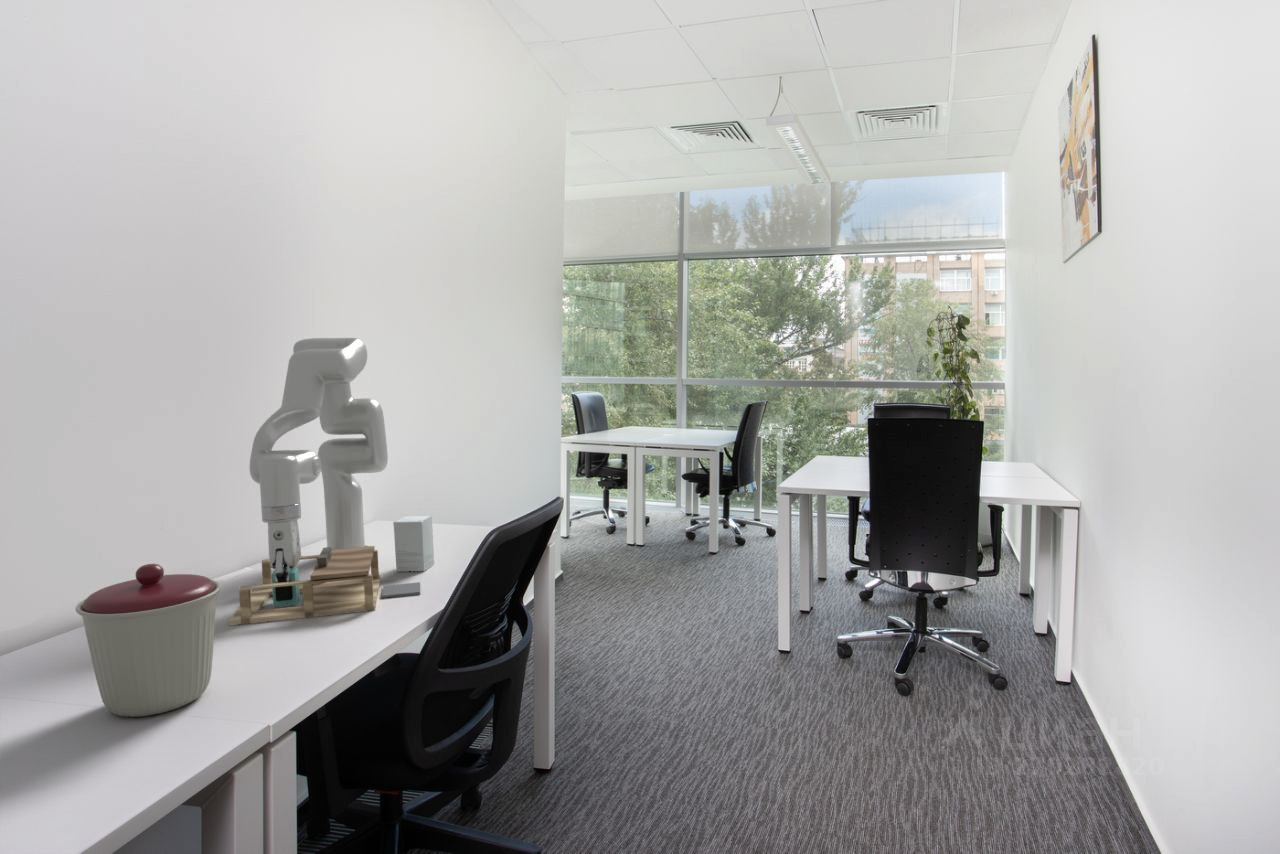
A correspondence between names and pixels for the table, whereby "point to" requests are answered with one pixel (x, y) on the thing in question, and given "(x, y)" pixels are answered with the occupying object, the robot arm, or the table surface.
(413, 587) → the felt mat
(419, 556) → the supplement box
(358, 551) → the walnut lid
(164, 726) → the table surface
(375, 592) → the light wood slatted frame
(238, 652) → the table surface
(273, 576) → the teal block
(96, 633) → the canister
